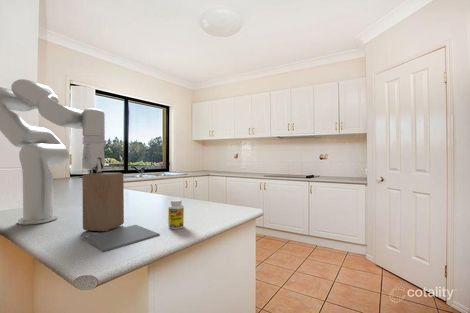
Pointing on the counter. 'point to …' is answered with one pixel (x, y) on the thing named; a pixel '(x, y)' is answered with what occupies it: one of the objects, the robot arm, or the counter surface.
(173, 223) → the supplement bottle
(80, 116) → the robot arm
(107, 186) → the block
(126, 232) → the mat
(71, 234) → the counter surface
